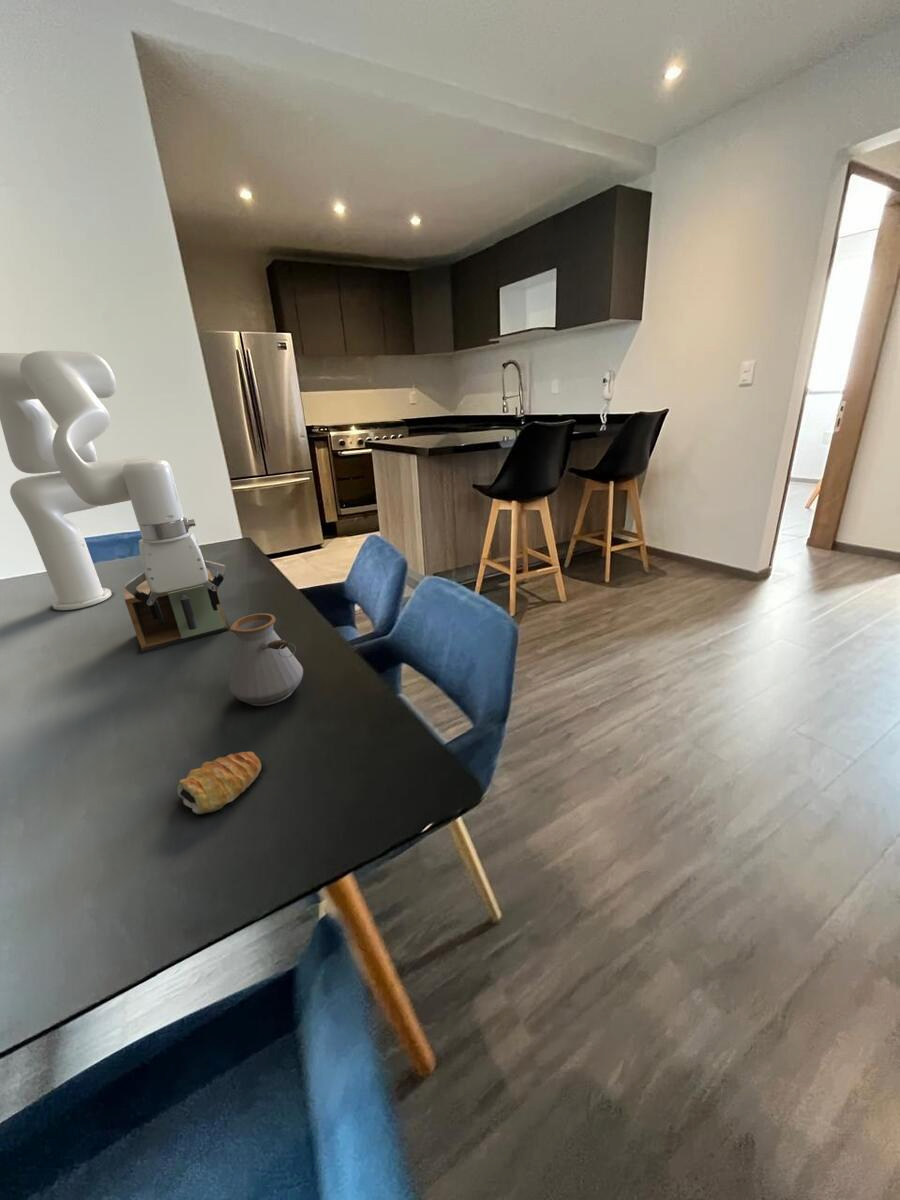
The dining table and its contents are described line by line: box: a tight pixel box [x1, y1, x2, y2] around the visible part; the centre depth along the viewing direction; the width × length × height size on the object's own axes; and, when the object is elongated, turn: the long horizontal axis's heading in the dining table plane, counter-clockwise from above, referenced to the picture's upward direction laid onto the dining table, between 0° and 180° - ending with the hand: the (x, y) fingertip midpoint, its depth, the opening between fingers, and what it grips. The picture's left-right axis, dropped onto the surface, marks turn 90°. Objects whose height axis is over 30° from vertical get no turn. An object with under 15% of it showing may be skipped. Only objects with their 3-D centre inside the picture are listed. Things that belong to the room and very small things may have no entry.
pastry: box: [176, 751, 262, 815], centre depth 60 cm, size 9×7×4 cm
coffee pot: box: [228, 613, 304, 707], centre depth 74 cm, size 21×12×15 cm, turn 37°
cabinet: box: [124, 568, 229, 653], centre depth 103 cm, size 11×16×11 cm
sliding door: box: [168, 585, 224, 639], centre depth 99 cm, size 5×8×10 cm, turn 122°
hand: (188, 614), depth 97 cm, fingers open, 9 cm apart
